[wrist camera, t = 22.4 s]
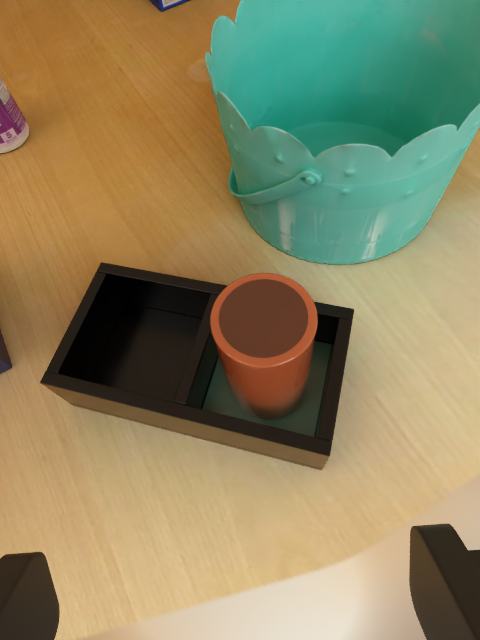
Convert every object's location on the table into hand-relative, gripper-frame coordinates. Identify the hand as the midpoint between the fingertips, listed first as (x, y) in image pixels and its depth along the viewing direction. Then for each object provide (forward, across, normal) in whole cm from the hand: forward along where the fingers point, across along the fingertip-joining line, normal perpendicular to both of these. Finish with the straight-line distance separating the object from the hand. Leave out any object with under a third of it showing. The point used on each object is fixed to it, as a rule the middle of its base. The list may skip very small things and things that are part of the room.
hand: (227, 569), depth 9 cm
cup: (+19, -2, +4) cm, 19 cm away
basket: (+32, -9, -8) cm, 34 cm away
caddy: (+20, +2, +4) cm, 21 cm away
